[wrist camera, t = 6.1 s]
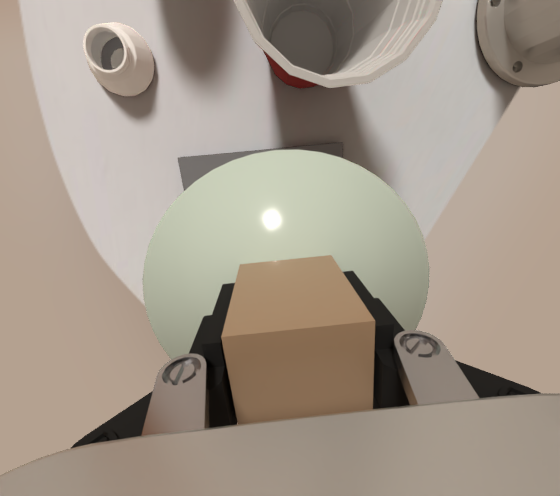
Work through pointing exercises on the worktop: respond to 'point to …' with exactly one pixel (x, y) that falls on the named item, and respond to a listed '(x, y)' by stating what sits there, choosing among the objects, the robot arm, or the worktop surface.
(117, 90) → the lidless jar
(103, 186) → the worktop surface
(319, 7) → the plastic cup
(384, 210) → the lid
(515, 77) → the robot arm
